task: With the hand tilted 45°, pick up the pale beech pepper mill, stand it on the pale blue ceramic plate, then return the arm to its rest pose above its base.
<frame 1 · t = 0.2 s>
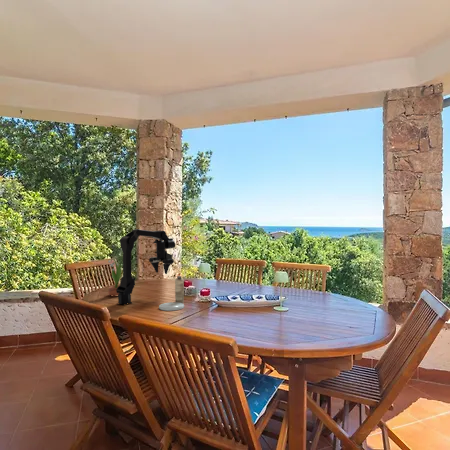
hand: (161, 273, 220), 15 cm above the table, tool pointing down, fingers open, 9 cm apart
potted flower: (114, 295, 222), on the table
pepper mill: (179, 302, 201), on the table
plate: (171, 307, 189), on the table
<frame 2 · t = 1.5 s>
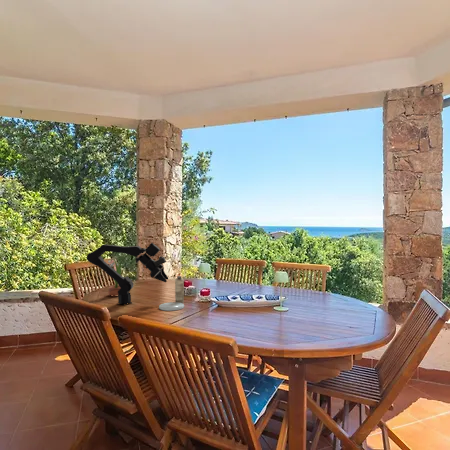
hand: (167, 280, 200), 13 cm above the table, tool tilted 45°, fingers open, 9 cm apart
nothing on the table moved.
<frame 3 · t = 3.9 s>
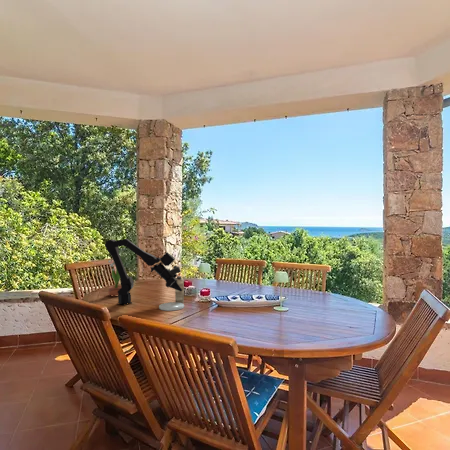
hand: (181, 289, 201), 8 cm above the table, tool tilted 45°, fingers closed on pepper mill, 5 cm apart
pepper mill: (179, 302, 201), on the table, touching gripper
everything else where it was.
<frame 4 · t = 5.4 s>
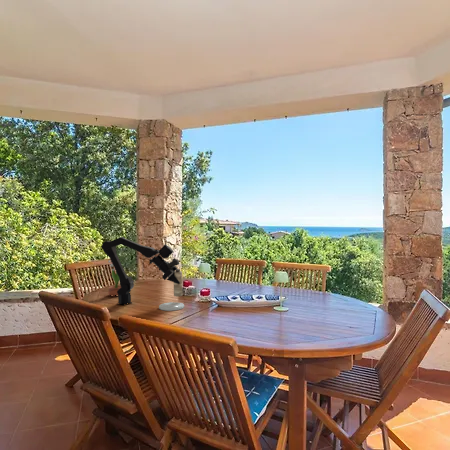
hand: (180, 282, 198), 12 cm above the table, tool tilted 45°, fingers closed on pepper mill, 5 cm apart
pepper mill: (178, 295, 198), point 5 cm above the table, touching gripper
everything else where it was.
when the fingers open (10 cm above the table, at t = 6.9 s): pepper mill drops 1 cm, resting on plate.
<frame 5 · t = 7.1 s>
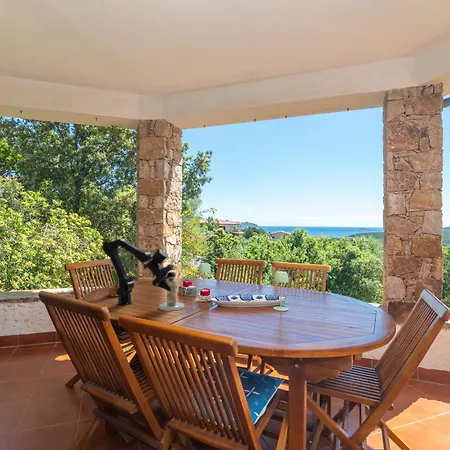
hand: (173, 289, 189), 10 cm above the table, tool tilted 45°, fingers open, 7 cm apart
pepper mill: (171, 305, 189), point 1 cm above the table, touching plate
everything else where it was.
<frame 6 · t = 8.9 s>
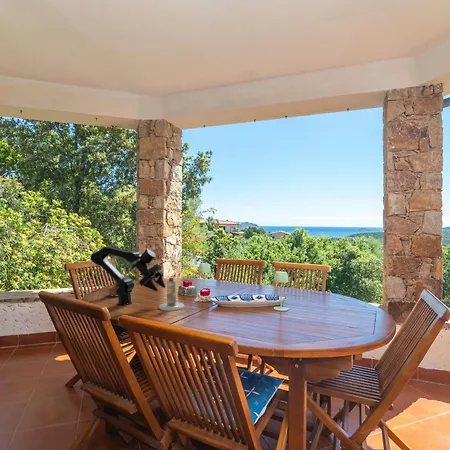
hand: (161, 289, 191), 10 cm above the table, tool tilted 45°, fingers open, 9 cm apart
nothing on the table moved.
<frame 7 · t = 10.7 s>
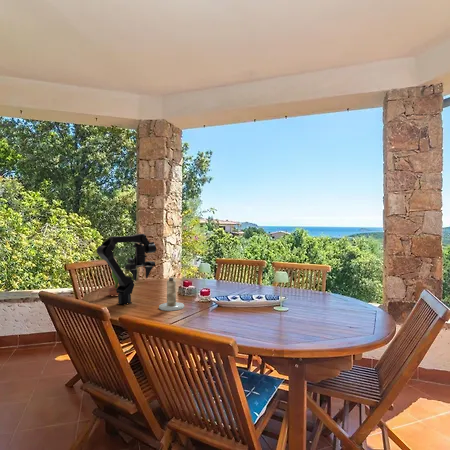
hand: (141, 279, 208), 13 cm above the table, tool pointing down, fingers open, 8 cm apart
nothing on the table moved.
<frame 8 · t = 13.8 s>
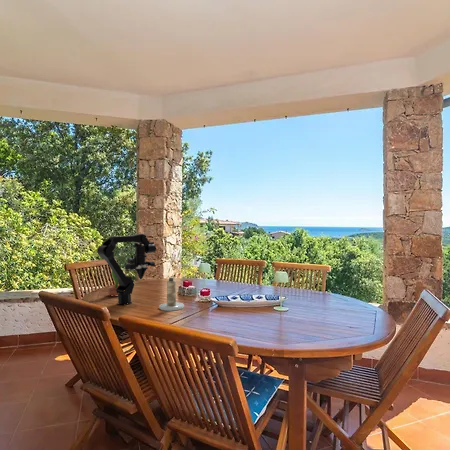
hand: (140, 279, 208), 13 cm above the table, tool pointing down, fingers closed
nothing on the table moved.
at the end: pepper mill inside the target area on the plate (0.1 cm from its centre), point 1.2 cm above the plate's base; pepper mill tilted 0°; the gripper is holding nothing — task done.
